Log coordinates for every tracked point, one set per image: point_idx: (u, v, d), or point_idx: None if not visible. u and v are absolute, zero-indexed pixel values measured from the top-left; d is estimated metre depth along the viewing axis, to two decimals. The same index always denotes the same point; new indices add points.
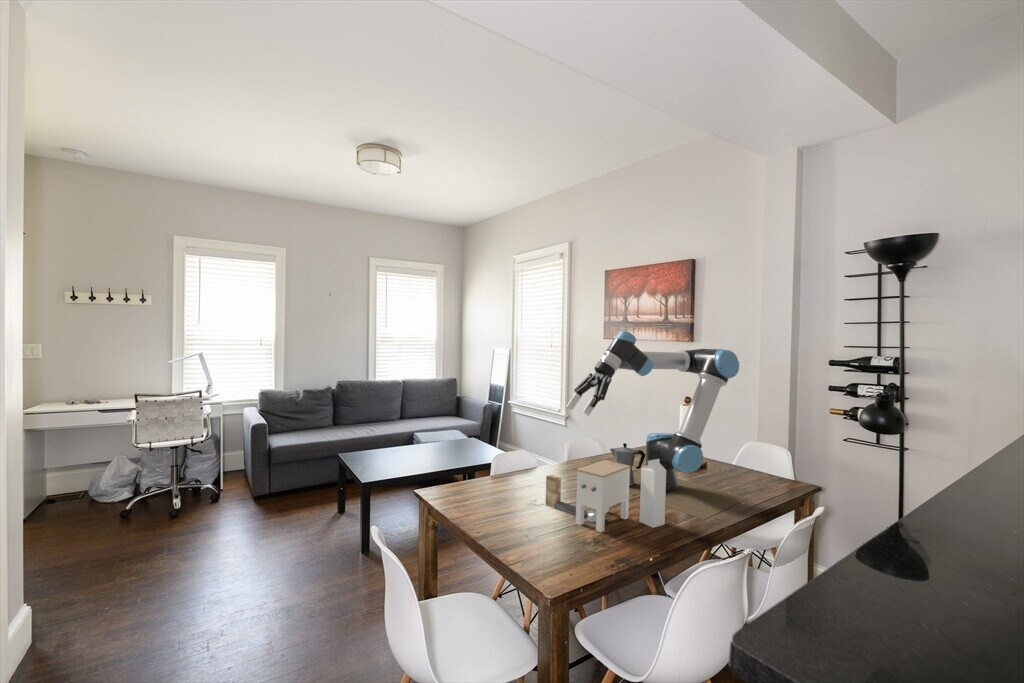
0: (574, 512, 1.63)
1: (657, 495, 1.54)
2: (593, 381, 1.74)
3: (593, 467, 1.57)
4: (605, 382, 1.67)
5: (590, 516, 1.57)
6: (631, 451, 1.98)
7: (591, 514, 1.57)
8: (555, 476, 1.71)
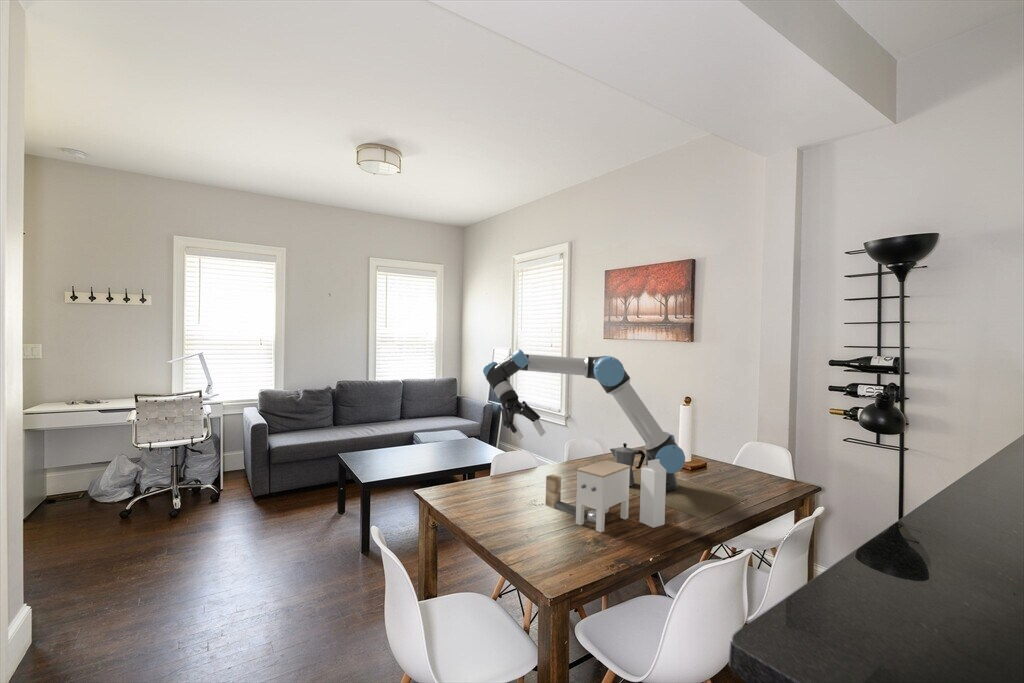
0: (574, 512, 1.63)
1: (657, 495, 1.54)
2: None
3: (593, 467, 1.57)
4: (502, 411, 1.80)
5: (590, 516, 1.57)
6: (631, 451, 1.98)
7: (591, 514, 1.57)
8: (555, 476, 1.71)
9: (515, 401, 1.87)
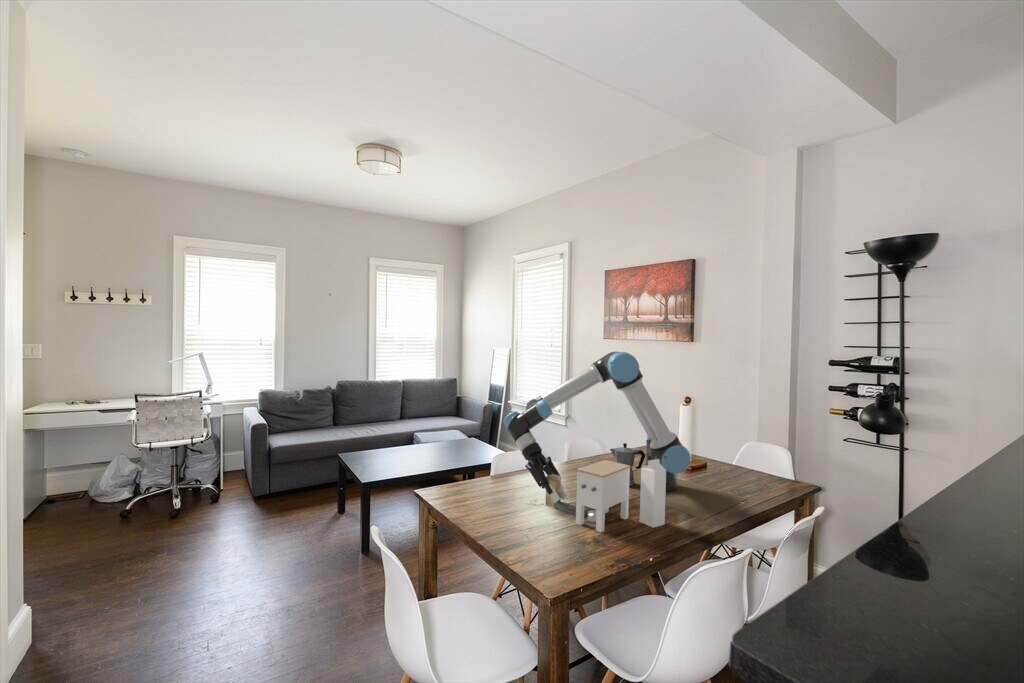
0: (574, 512, 1.63)
1: (657, 495, 1.54)
2: None
3: (593, 467, 1.57)
4: (530, 470, 1.72)
5: (590, 516, 1.57)
6: (631, 451, 1.98)
7: (591, 514, 1.57)
8: (555, 476, 1.71)
9: (539, 453, 1.79)
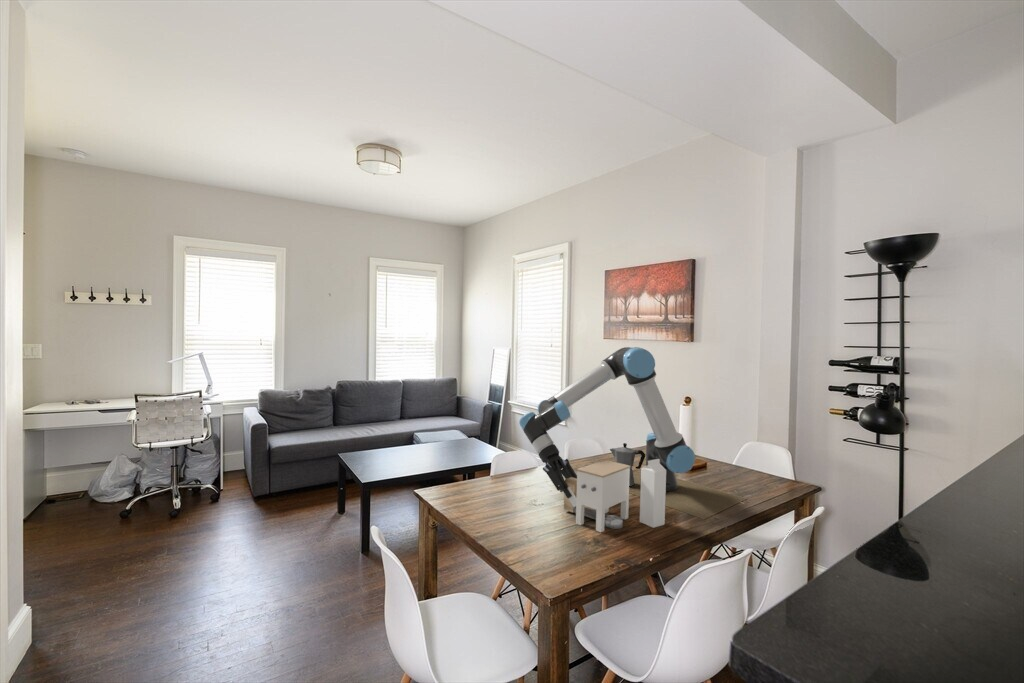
0: (594, 517, 1.57)
1: (657, 495, 1.54)
2: None
3: (593, 467, 1.57)
4: (548, 473, 1.66)
5: (608, 521, 1.52)
6: (631, 451, 1.98)
7: (608, 520, 1.52)
8: (574, 479, 1.65)
9: (556, 455, 1.73)
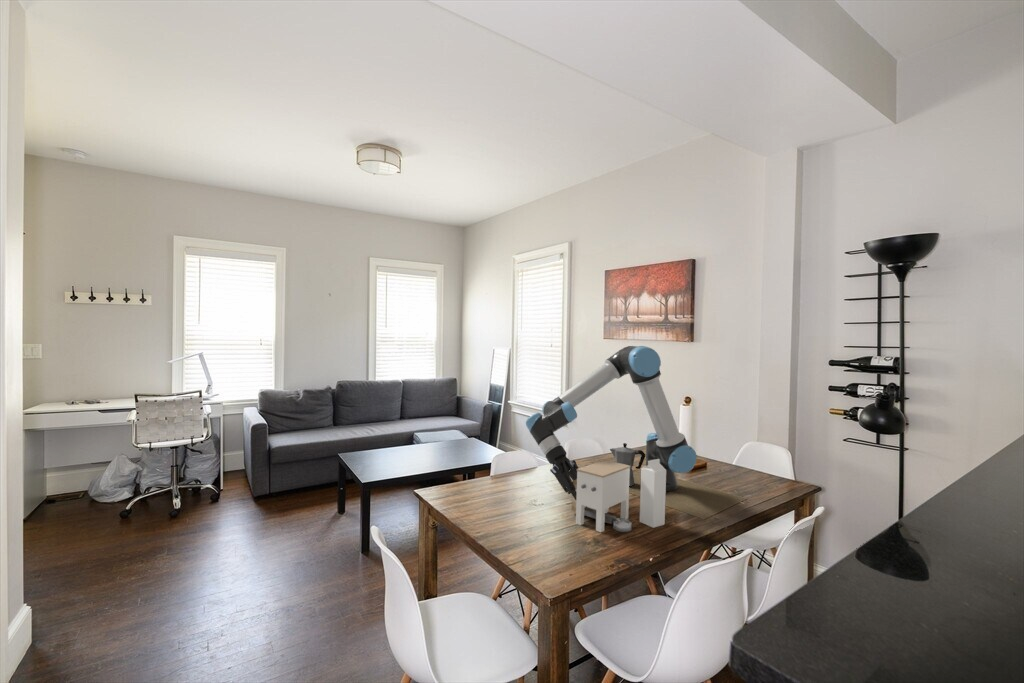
0: None
1: (657, 495, 1.54)
2: None
3: (593, 467, 1.57)
4: (556, 475, 1.64)
5: (616, 524, 1.50)
6: (631, 451, 1.98)
7: (617, 523, 1.50)
8: None
9: (563, 456, 1.71)
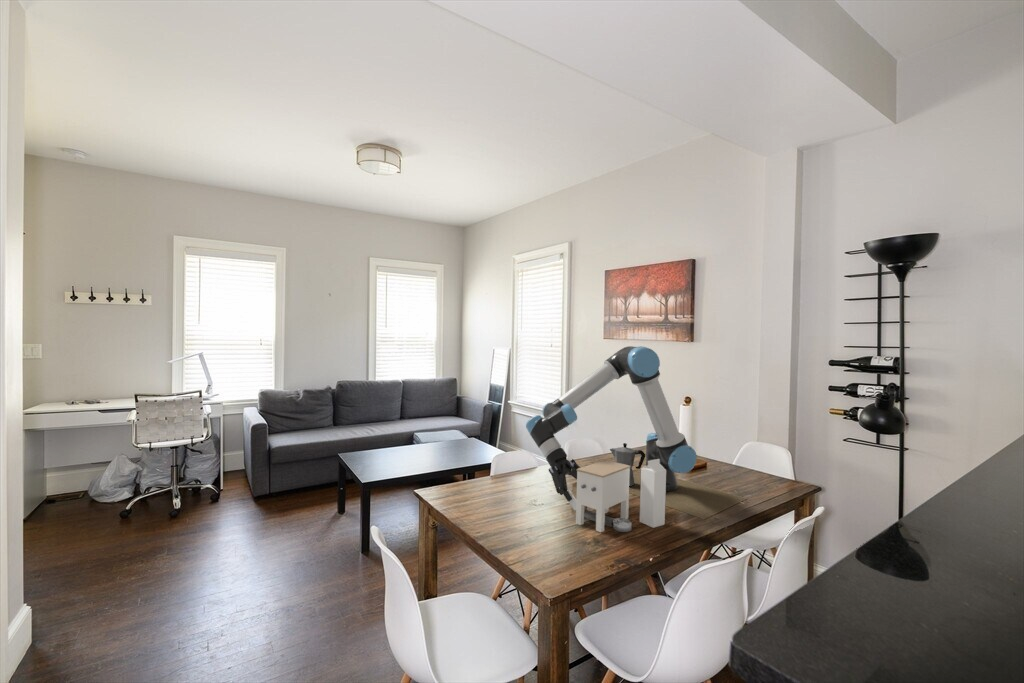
0: None
1: (657, 495, 1.54)
2: None
3: (593, 467, 1.57)
4: (552, 475, 1.63)
5: (617, 524, 1.50)
6: (631, 451, 1.98)
7: (617, 523, 1.50)
8: None
9: (564, 460, 1.70)
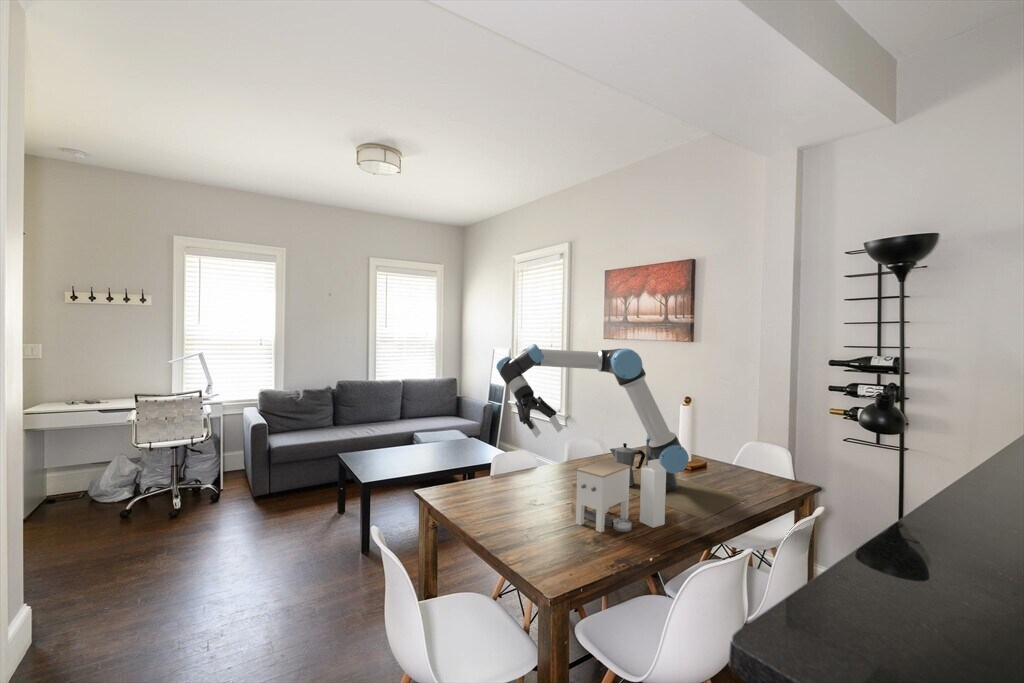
0: None
1: (657, 495, 1.54)
2: None
3: (593, 467, 1.57)
4: (518, 407, 1.75)
5: (616, 524, 1.50)
6: (631, 451, 1.98)
7: (617, 523, 1.50)
8: None
9: (531, 397, 1.82)
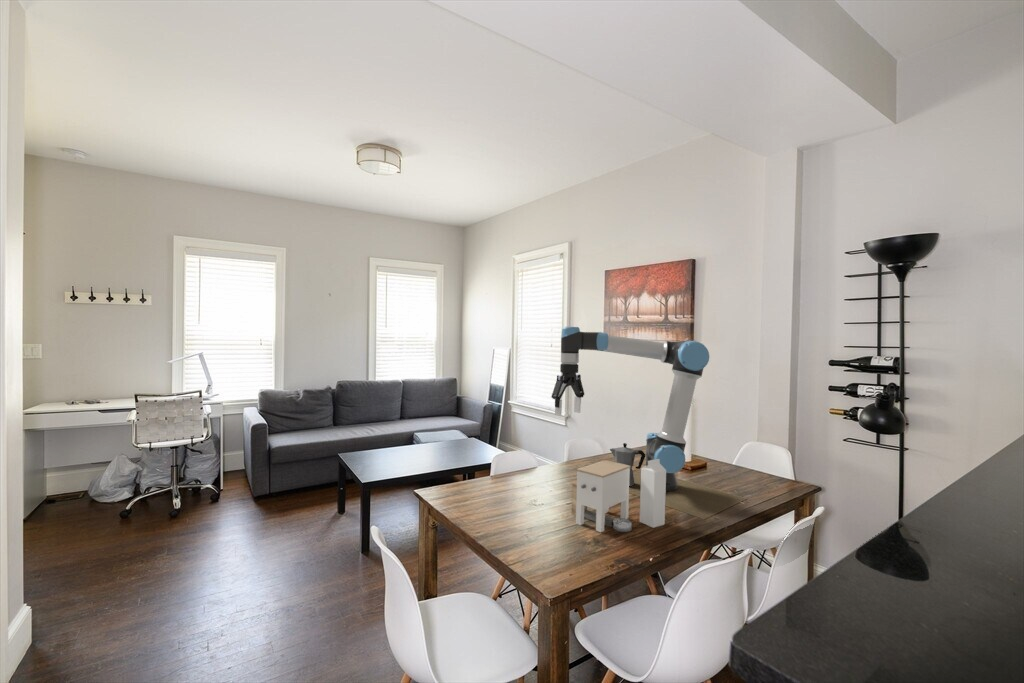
0: None
1: (657, 495, 1.54)
2: None
3: (593, 467, 1.57)
4: (557, 381, 1.86)
5: (616, 524, 1.50)
6: (631, 451, 1.98)
7: (617, 523, 1.50)
8: None
9: (573, 374, 1.91)
